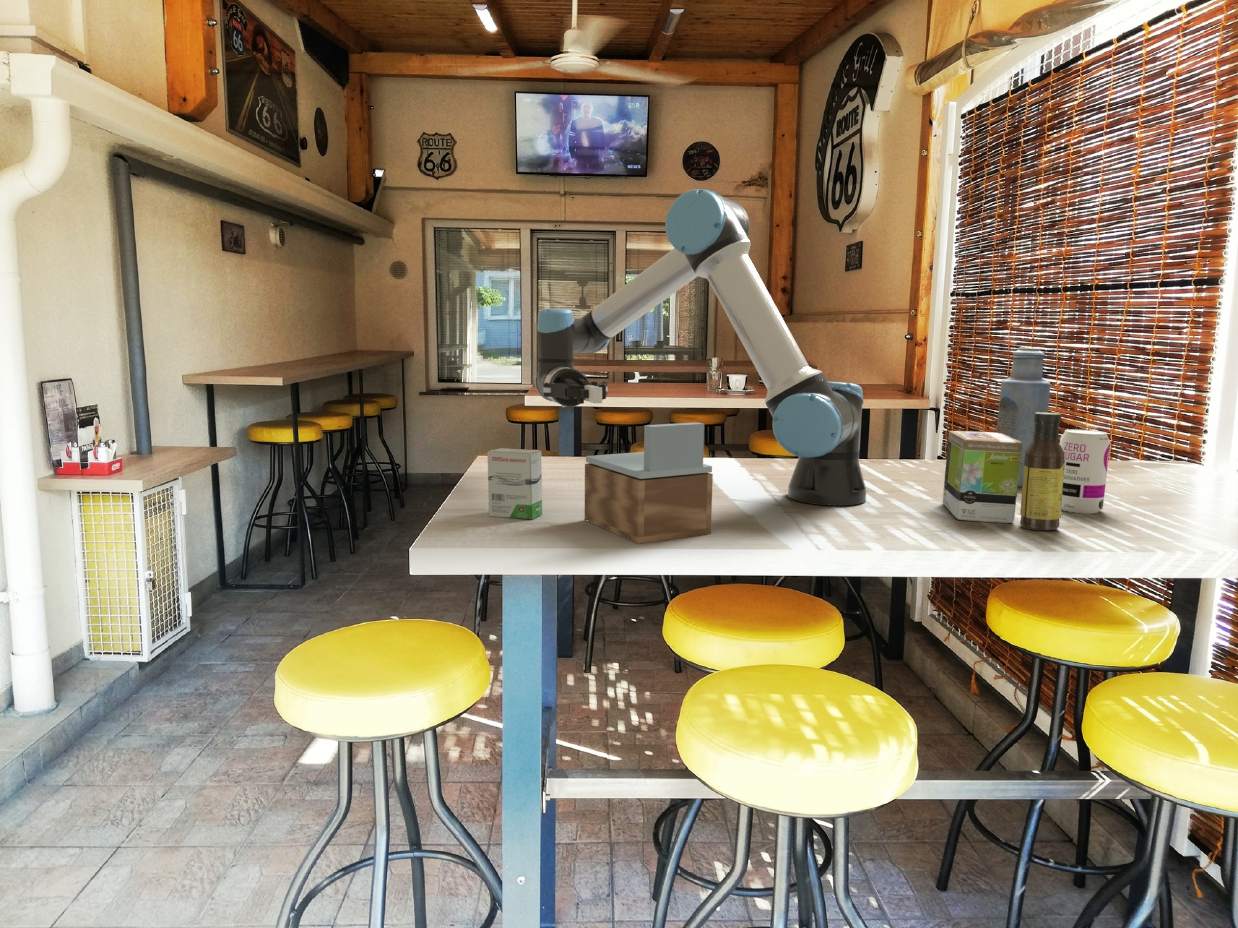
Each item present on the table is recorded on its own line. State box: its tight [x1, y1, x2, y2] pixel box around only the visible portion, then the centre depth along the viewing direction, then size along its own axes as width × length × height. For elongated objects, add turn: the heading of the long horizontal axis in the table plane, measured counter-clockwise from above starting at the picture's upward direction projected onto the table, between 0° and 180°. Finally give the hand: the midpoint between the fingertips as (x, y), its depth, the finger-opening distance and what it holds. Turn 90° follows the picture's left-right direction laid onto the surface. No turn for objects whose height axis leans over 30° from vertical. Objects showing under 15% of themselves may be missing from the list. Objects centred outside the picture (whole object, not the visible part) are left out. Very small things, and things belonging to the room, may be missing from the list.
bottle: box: [996, 346, 1051, 488], centre depth 182 cm, size 10×10×30 cm
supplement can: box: [1059, 429, 1111, 515], centre depth 157 cm, size 8×8×15 cm
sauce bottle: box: [1019, 412, 1065, 531], centre depth 142 cm, size 6×6×20 cm
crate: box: [584, 462, 714, 545], centre depth 140 cm, size 18×14×10 cm
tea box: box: [942, 430, 1022, 524], centre depth 153 cm, size 15×10×15 cm
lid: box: [585, 421, 713, 479], centre depth 138 cm, size 18×14×8 cm
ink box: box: [486, 447, 543, 520], centre depth 147 cm, size 9×5×12 cm, turn 71°
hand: (598, 395), depth 144 cm, fingers closed
